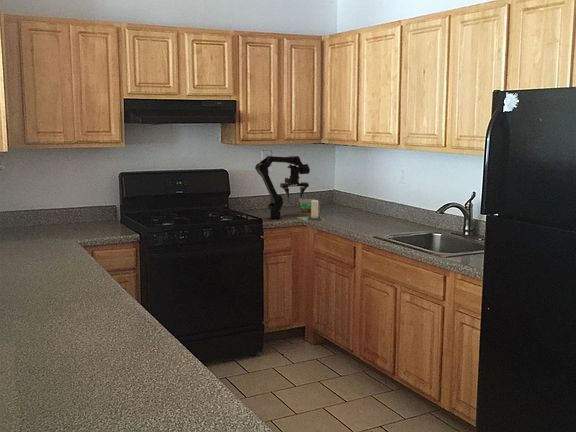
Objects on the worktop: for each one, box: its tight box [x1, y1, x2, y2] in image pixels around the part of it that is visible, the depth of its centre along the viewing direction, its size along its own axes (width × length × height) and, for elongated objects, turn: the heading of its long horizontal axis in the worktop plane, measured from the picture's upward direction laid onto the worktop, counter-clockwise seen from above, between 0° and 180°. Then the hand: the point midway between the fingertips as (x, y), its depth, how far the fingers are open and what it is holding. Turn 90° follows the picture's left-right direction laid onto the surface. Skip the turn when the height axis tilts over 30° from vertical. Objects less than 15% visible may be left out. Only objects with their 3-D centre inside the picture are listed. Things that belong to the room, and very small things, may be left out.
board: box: [296, 215, 325, 222], centre depth 433 cm, size 14×17×2 cm
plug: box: [310, 199, 320, 218], centre depth 430 cm, size 5×5×12 cm
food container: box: [298, 198, 317, 214], centre depth 461 cm, size 12×6×10 cm, turn 73°
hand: (294, 197), depth 442 cm, fingers open, 9 cm apart
